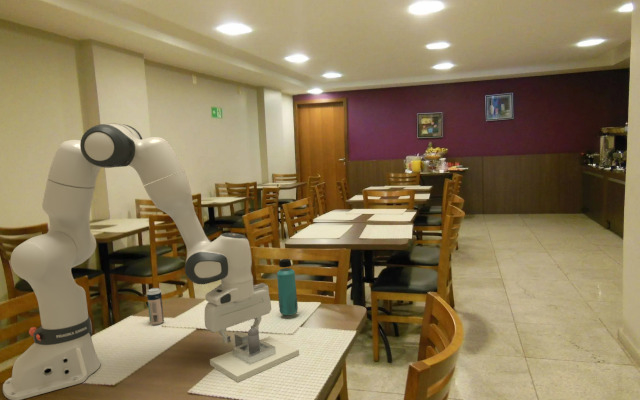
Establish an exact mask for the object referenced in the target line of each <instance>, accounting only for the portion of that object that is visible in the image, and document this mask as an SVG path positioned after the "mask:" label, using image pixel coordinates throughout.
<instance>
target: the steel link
mask: <svg viewBox="0 0 640 400" xmlns="http://www.w3.org/2000/svg"><path fill="white" fill-rule="evenodd" d="M233 335H234V345H235V346H234V347H233V348H232V351H233V355H234V356H236V357H237V358H239V359H241V360H243V361H245V362H246V363H248V364H253V363H255V362H257V361H260V360H262V359H264V358H267V357H269V356H272V355H274V354H276V350H275V346H273V345H270V344H268V343H266V342H264V341H262V340H261V339H260V338H259V343H260V349H261V350H260V351H258V352H256V353H253V354H249V353H247V352H248V351H249V344H248V334H246V333H244V332H242V331H238V332H236V333H234V334H233Z"/></svg>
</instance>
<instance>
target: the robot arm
mask: <svg viewBox="0 0 640 400" xmlns="http://www.w3.org/2000/svg"><path fill="white" fill-rule="evenodd" d="M121 167H123V168H124V167H131V168H133V169H134V170H135V171H136V172H137V173H136V174H138V176H139V179H140V181H141V183H142V186H143V187H144V190H145V192H146V194H147V195H148V197H149V199H150V200H151V201H152V203H153V204H154V205H155V207H156V208H157V209H158V210H159V211H162V212H163V213H165V214H167V215H168V216H169V217H170V218H171V219H172V221H173V222H174V223H175V225H176V228H177V229H178V231H179V234H180V236H181V237H182V239H183V242H184V244H185V247H186V259H185V264H184V272H185V275H186V277H187V279H188V280H190V282H192V283H193V284H196V285H207V284H211V283H215V282H218V281H220V284H219V285H218V286H216V287H214V288H213V289H211V290H210V291H208V292H207V293H206V294H205V301H207V304H205V307H204V327H205V329H206V330H208V331H210V332H212V333H217V332H218V333H219V335H221V337H222V343H224V344H228V343H230V342H231V335H229V334H227V333H226V332H227V328H231V327H233V326H235V325H236V326H237V325H240V324H242V323H246V322H249V321H251V320H253V324H252V325H250V329H251V328H256V329H257V330H258V332H259V331H260V329H259V326H260V324H261V321H262V317H264V316H265V315H268V314H270V313H271V311H272V302H271V297H270V291H269V289H270V287H269V286H268V284H267V283H264V282H260V283H258V284H254V277H253V274H252V264H253V262H252V260H253V259H252V252H251V246H250V241H249V240H248V238H247V237H246V236H245V235H243V234H241V233H236V232H225V233H221V234H220V235H219V236H218V237H217V238H216V239H214V240H213V241H212V240H211V239H210V238H209V237H208V236H207V234H206V232H205V230H204V228H203V226H202V224H201V222H200V220H199V217H198V216H197V213H196V210H195V206H194V201H193V195H192V191H191V187H190V183H189V179H188V177H187V174H186V172H185V169H184V167H183V165H182V163H181V161H180V160H179V158H178V156H177V154H176V152H175V151H174V149H173V148H172V146H171V144H170V142H168V140H166V139H164V138H163V137H160V136H150V137H149V136H148V137H146V138H143V136H142V135H141V133H140V132H139V130H137V129H136V128H134V127H133V126H130V125H128V124H121V123H115V122H111V123H106V124H105V123H103V124H95V125H94V126H91V127H89V128H88V129H86V131H85V132H84V133H83V135H82V137H81V140H79V139H70V140H69V139H68V140H65V141H62V142H61V143H60V144H59V146H58V148H57V150H56V151H55V154H54V157H53V158H52V162H51V165H50V167H49V172H48V175H47V176H48V177H47V180H46V185H45V190H44V194H43V199H42V205H41V206H42V209H43V212H44V213H46V215H47V216H48V218H49V219H48V220H49V229H48V231H47V233H43V234H39V235H36V236H33V237H29V238H28V239H27V240H25V241H23V242H22V243H20V244H19V245H17V246H16V247H14V249H13V251H12V252H11V254H10V266H11V268H12V270H13V272H14V273H15V275H17V277H19V278H20V279H22V280H25V281H26V282H27V283H28V284H29V286H30V287H31V289H32V290H33V293H34V294H35V297H36V300H37V303H38V310H39V317H40V323H41V324H40V326H39V327H38V328H37V327H36V326H32V327H30V328H29V330H28V334H29V335H30V336H31V337H33V341H34V343H32V344H31V345H30V346H29V347H28V348H27V349H26V350H25V351H24V352H23V353H22V354H21V355H20V356H19V357H18V358H16V360H14V363H13V367H12V371H11V377H9V378H8V379H6V380H5V381H4V383H3V384H2V393H3V395H4V396H5V398H7V399H8V400H24V399H29V398H32V397H35V396H39V395H41V394H46V393H49V392H50V393H51V392H53V391H54V392H55V391H57V390H60V389H64V388H67V387H71V386H75V385H79V384H81V383H83V382H85V381H86V380H87V379H88V378H89V376H91V375H92V374H94V373H95V372H96V371H97V370H99V368H100V367H101V361H100V360H99V358H98V356H97V353H96V350H95V346H94V342H93V338H92V336H93V326H92V321H91V320H92V319H91V317H90V316H89V313H88V302H87V296H86V295H87V294H86V291H85V289H84V287H82V286H81V285H79V284H77V283H76V281H75V279H74V277H73V273H72V268H75V267H76V266H80V265H82V264H83V263H84V262H86V261H87V260H89V259H90V257H92V255H94V253H95V251H96V249H97V239H96V237H95V236H94V234H93V233H92V231H91V225H90V218H91V217H90V216H91V208H92V204H93V203H92V202H93V199H94V192H95V189H96V184H97V180H98V175H99V172H100V170H101V169H102V168H106V169H109V168H121Z"/></svg>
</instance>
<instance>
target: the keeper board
mask: <svg viewBox="0 0 640 400" xmlns="http://www.w3.org/2000/svg"><path fill="white" fill-rule="evenodd" d="M247 335H248V344H249V351H248V352H247V353H249V354H253V353H256V352H258V351H260V350H261V349H260V343H259V339H260V332H259V331H258V330H257V329H256V328H251V327H250V328H249V330H248V332H247ZM260 340H262V341H264V342H266V343H268V344H270V345H273V346H275V350H276V354H274V355H272V356H269V357H267V358H264V359H262V360H260V361H257V362H255V363H253V364H248V363H246V362H245V361H243V360H241V359H239V358H237V357H236V356H234V355H233V350H231V351H228V352H226V353H225V352H224V353H223V354H220V355H218V356H216V357H213V358H210V359H209V364H210V366H211V367H212V368H215V369H216V370H218V371H219V372H221V373H222V374H224V375H225V376H227V377H229V378H230V379H232V380H233V381H235V382H236V383H239V382H241V381H244V380H246V379H248V378H250V377H253V376H255V375H257V374H259V373H262V372H264V371H266V370H268V369H270V368H272V367H275V366H277V365H280V364H282V363H284V362H287V361H289V360H291V359H294V358H296V357H297V356H298V357H299V356H300V349H298V348H296V347H294V346H291V345H289V344H287V343H285V342H283V341H281V340H278V339H276V338H274V337H271V336H267V337H263V338H261V339H260Z"/></svg>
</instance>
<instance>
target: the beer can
mask: <svg viewBox="0 0 640 400" xmlns="http://www.w3.org/2000/svg"><path fill="white" fill-rule="evenodd" d="M146 297H147V306H148V308H147V309H148V317H149V318H148V319H149V324H150V325H152V326H158V324H159V325H161V324H163V323H164V322H165V320H164V318H165V317H164V307H163V299H162V298H163V297H162V290H161V289H160V288H159V287H152V288H150V289H147V292H146Z"/></svg>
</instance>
